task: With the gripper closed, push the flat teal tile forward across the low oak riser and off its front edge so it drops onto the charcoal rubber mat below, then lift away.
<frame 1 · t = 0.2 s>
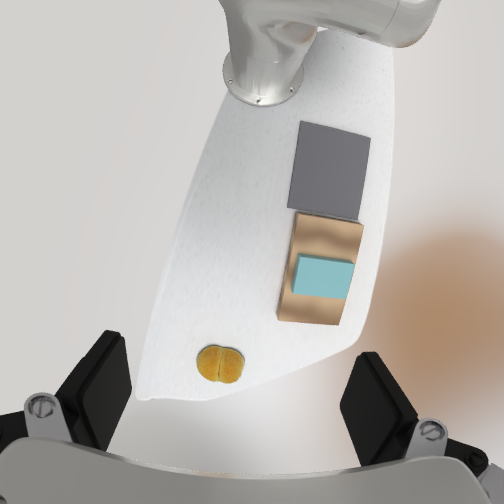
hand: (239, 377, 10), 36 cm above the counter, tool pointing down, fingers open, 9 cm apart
oak riser: (317, 269, 48), on the counter
teal tile: (322, 276, 45), point 3 cm above the counter, touching oak riser
bread roll: (221, 360, 53), on the counter
charcoal mat: (330, 170, 44), on the counter
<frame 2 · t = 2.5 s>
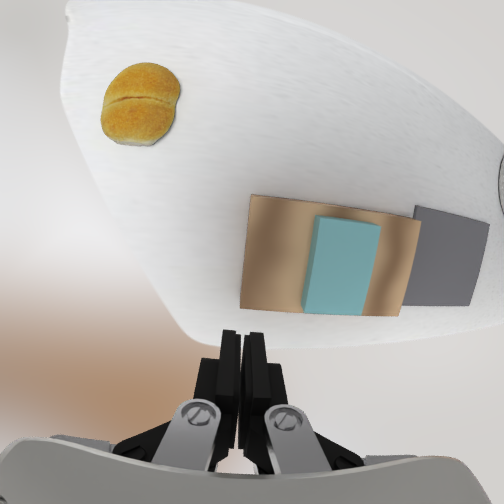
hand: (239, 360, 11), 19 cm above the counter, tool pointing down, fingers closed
oak riser: (330, 257, 30), on the counter
teal tile: (340, 267, 26), point 3 cm above the counter, touching oak riser
bread roll: (143, 108, 26), on the counter
charcoal mat: (446, 261, 30), on the counter
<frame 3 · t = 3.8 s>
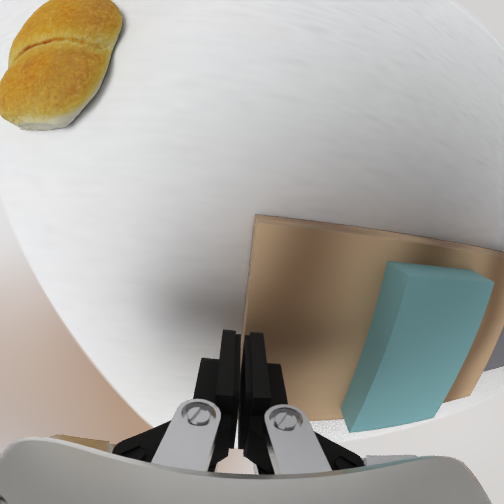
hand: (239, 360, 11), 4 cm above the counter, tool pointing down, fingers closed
oak riser: (392, 323, 16), on the counter
teal tile: (418, 354, 12), point 3 cm above the counter, touching oak riser
bread roll: (66, 66, 12), on the counter
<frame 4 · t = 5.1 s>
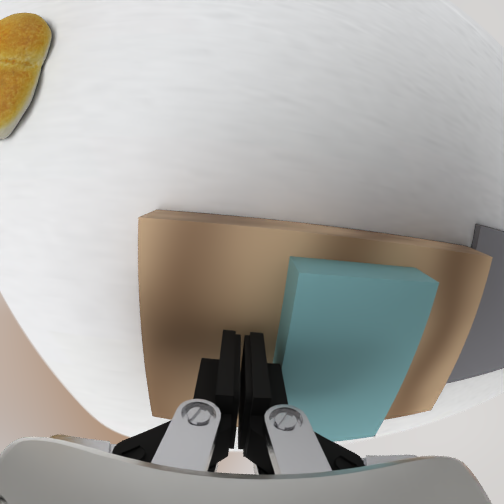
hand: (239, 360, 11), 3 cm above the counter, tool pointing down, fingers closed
oak riser: (322, 327, 15), on the counter
teal tile: (342, 365, 12), point 4 cm above the counter, touching gripper
bread roll: (11, 82, 11), on the counter
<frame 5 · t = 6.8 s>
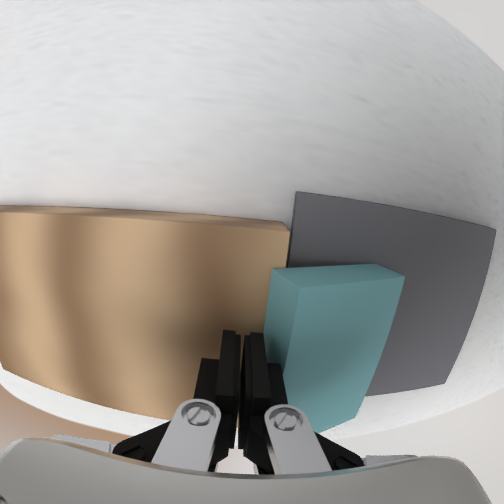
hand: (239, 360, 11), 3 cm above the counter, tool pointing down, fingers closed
oak riser: (106, 307, 14), on the counter
teal tile: (324, 362, 13), point 3 cm above the counter, tilted 22°, touching gripper
charcoal mat: (395, 313, 15), on the counter
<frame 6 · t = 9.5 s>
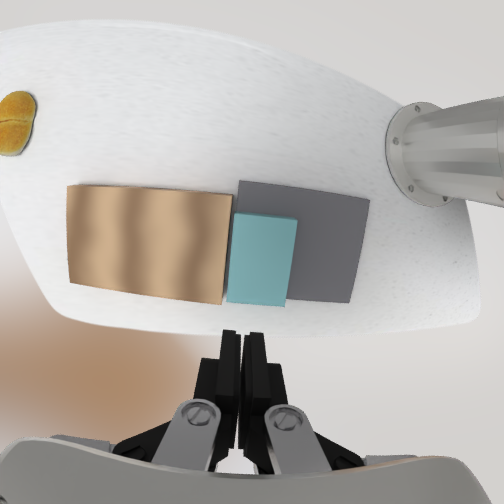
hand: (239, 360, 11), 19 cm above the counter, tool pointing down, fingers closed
oak riser: (145, 238, 30), on the counter
teal tile: (260, 259, 29), point 1 cm above the counter, touching charcoal mat
bread roll: (18, 125, 25), on the counter
charcoal mat: (299, 245, 30), on the counter
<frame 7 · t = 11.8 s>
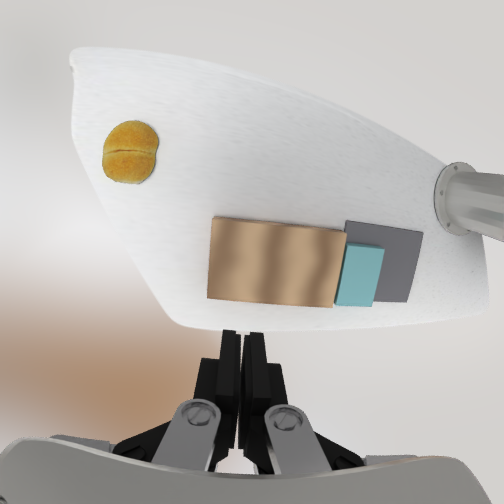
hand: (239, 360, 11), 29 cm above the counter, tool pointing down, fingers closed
oak riser: (274, 261, 41), on the counter
teal tile: (358, 275, 40), point 1 cm above the counter, touching charcoal mat
bread roll: (133, 154, 37), on the counter
charcoal mat: (379, 264, 42), on the counter
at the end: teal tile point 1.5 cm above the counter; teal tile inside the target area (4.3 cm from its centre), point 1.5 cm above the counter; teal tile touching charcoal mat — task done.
